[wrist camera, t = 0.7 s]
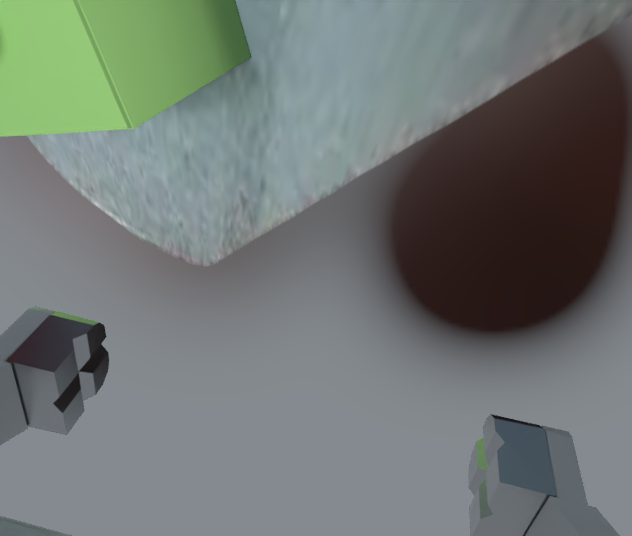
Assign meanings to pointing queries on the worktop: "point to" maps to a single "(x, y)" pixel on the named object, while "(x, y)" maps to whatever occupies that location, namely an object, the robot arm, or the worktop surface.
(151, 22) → the canister
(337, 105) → the worktop surface
